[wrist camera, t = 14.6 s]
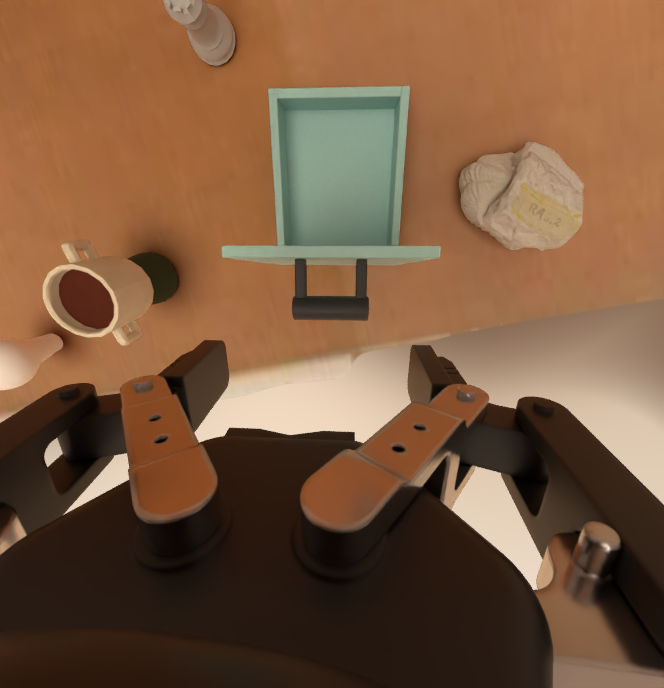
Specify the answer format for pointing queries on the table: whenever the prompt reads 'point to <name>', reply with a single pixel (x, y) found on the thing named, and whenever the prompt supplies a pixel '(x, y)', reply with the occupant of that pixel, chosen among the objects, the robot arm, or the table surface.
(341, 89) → the storage box
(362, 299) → the green hinged lid
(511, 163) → the fossil replica
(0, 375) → the lightbulb
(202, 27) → the rook chess piece
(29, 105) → the table surface
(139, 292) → the character mug
